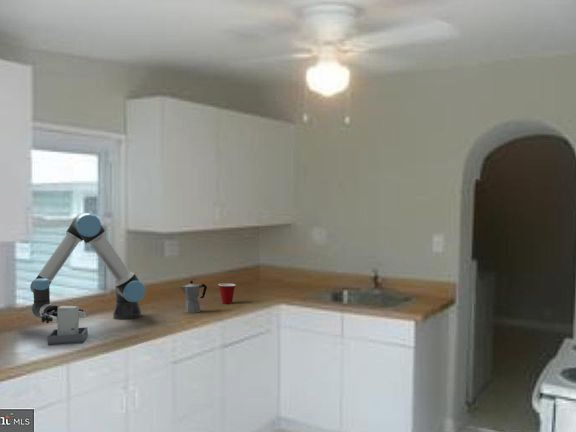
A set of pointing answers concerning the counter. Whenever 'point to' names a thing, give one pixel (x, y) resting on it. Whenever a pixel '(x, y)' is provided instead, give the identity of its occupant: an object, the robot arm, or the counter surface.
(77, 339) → the bin
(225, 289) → the plastic cup
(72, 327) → the skincare box
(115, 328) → the counter surface
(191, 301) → the coffeepot
